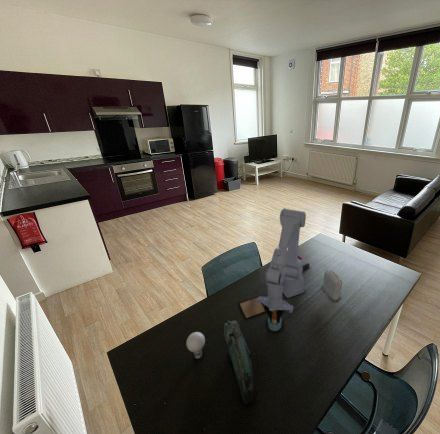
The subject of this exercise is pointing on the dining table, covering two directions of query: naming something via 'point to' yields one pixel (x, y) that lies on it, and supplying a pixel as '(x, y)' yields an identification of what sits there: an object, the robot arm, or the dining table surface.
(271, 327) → the teal ring
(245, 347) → the dark teal slab
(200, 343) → the lightbulb
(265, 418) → the dining table surface
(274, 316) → the marker
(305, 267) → the calculator
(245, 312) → the coaster
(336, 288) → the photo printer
